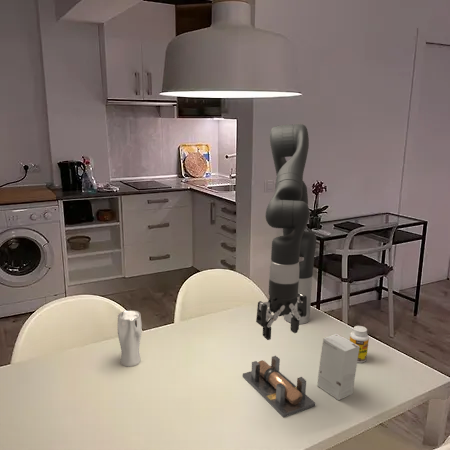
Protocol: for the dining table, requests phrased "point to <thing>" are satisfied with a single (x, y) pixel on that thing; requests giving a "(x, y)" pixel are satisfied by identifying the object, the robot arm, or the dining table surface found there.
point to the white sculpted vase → (129, 337)
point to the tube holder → (278, 390)
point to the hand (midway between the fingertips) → (280, 335)
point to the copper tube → (276, 378)
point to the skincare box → (338, 366)
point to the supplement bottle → (360, 341)
